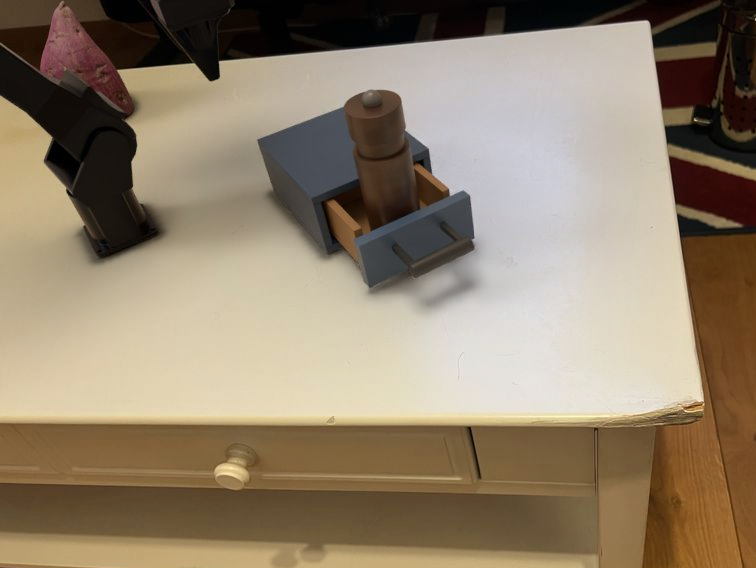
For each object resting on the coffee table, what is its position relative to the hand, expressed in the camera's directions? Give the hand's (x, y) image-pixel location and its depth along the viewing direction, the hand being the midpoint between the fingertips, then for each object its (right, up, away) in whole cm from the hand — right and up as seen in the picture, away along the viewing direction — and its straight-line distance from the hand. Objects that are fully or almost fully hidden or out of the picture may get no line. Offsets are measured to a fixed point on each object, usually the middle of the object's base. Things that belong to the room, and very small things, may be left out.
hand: (199, 64), depth 73 cm
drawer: (+21, -18, -3) cm, 28 cm away
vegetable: (-22, +2, +24) cm, 33 cm away
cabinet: (+15, -13, +4) cm, 20 cm away
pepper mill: (+20, -17, -4) cm, 27 cm away
